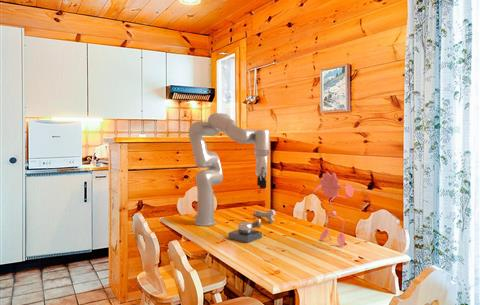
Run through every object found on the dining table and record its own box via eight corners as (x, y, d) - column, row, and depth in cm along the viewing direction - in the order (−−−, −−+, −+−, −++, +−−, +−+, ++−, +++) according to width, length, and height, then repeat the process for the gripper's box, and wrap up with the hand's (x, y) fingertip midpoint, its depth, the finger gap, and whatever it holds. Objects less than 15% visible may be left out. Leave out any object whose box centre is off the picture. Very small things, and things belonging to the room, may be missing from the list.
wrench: (256, 218, 238) (276, 224, 210) (254, 218, 237) (273, 224, 209) (256, 206, 238) (275, 210, 210) (253, 206, 238) (273, 210, 209)
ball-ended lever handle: (246, 234, 177) (246, 225, 176) (235, 231, 181) (235, 223, 181) (265, 227, 189) (265, 219, 189) (254, 225, 194) (254, 217, 194)
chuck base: (228, 238, 181) (228, 232, 180) (243, 233, 190) (243, 228, 190) (247, 243, 173) (247, 236, 173) (261, 237, 183) (261, 231, 183)
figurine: (319, 235, 187) (320, 168, 185) (360, 249, 166) (361, 173, 164) (297, 240, 179) (297, 170, 177) (337, 255, 158) (338, 176, 155)
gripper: (252, 152, 193) (252, 184, 194) (256, 154, 176) (256, 189, 176) (266, 152, 193) (266, 184, 194) (271, 154, 176) (271, 189, 177)
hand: (261, 186), depth 185 cm, fingers open, 9 cm apart
